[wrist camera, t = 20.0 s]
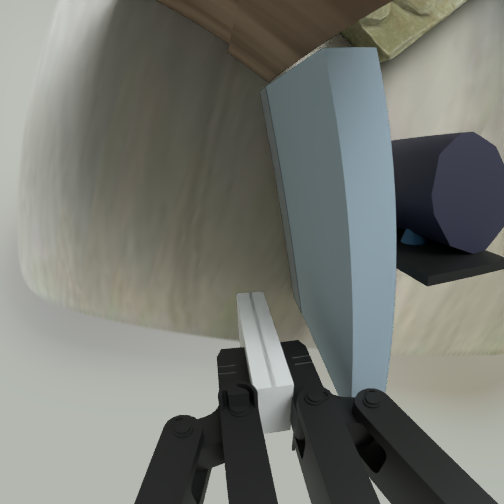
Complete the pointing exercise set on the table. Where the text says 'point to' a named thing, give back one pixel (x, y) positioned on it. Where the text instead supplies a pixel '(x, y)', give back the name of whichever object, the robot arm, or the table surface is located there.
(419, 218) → the speaker
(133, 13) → the table surface
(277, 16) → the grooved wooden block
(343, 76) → the light blue flat panel
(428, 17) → the decorative tile
